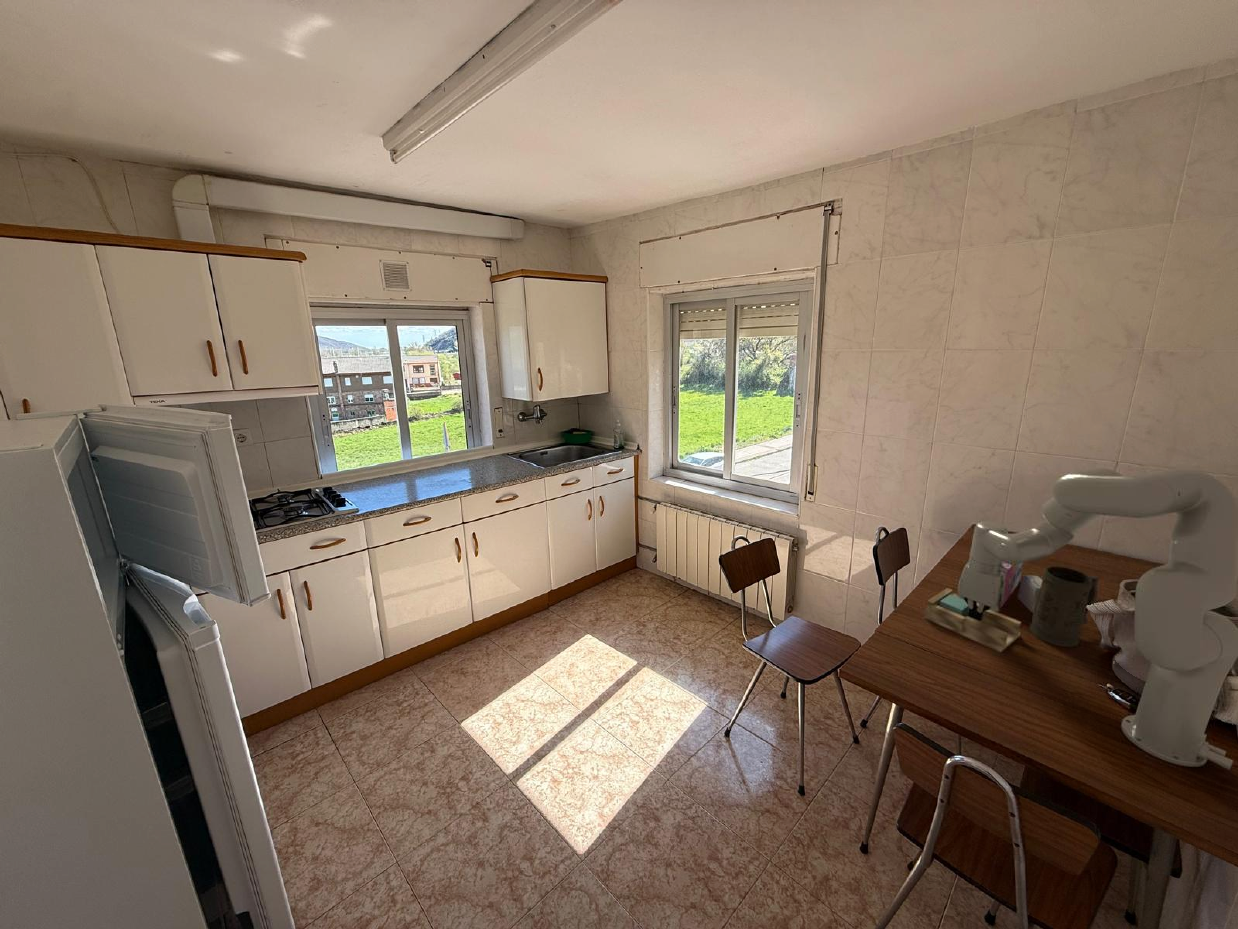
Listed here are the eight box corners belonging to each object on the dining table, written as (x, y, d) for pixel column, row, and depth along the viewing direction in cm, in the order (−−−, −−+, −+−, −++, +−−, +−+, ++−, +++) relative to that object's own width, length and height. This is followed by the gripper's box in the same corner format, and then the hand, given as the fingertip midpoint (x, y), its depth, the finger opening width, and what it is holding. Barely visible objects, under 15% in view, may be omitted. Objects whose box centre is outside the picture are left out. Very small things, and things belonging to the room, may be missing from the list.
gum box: (993, 571, 175) (1000, 536, 171) (1021, 580, 169) (1029, 543, 165) (972, 598, 160) (979, 560, 156) (1002, 608, 154) (1010, 569, 150)
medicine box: (1047, 613, 150) (1053, 588, 148) (1031, 612, 151) (1036, 587, 149) (1032, 599, 158) (1038, 575, 155) (1016, 598, 159) (1021, 574, 156)
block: (969, 617, 149) (972, 603, 148) (959, 624, 146) (962, 610, 145) (948, 608, 154) (950, 594, 152) (938, 614, 151) (940, 601, 149)
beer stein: (1058, 651, 134) (1078, 585, 129) (1018, 628, 144) (1035, 566, 139) (1098, 642, 138) (1119, 578, 133) (1056, 621, 148) (1074, 560, 143)
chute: (1019, 636, 141) (1023, 618, 140) (1000, 652, 135) (1004, 633, 133) (944, 604, 158) (947, 587, 156) (924, 617, 151) (927, 600, 150)
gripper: (1022, 571, 136) (1010, 628, 141) (962, 551, 148) (953, 605, 153) (1010, 580, 132) (998, 638, 137) (949, 558, 144) (940, 613, 149)
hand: (974, 620), depth 145 cm, fingers closed
